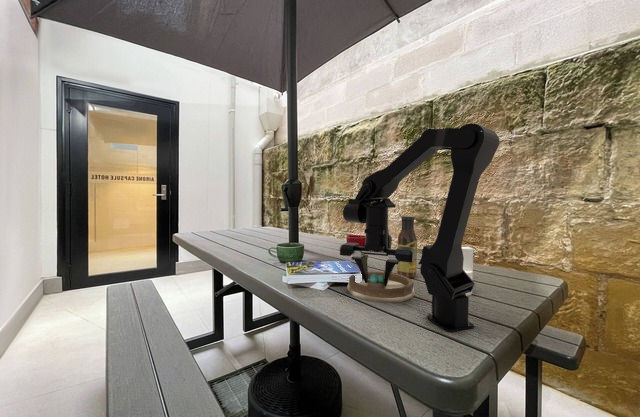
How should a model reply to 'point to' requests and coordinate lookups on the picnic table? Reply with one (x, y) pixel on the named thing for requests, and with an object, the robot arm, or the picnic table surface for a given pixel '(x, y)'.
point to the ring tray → (386, 300)
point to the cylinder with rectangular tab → (468, 263)
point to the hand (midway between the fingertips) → (376, 284)
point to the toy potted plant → (376, 281)
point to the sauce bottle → (407, 240)
